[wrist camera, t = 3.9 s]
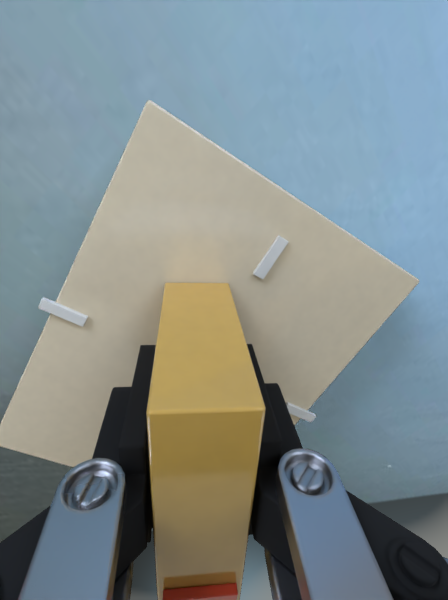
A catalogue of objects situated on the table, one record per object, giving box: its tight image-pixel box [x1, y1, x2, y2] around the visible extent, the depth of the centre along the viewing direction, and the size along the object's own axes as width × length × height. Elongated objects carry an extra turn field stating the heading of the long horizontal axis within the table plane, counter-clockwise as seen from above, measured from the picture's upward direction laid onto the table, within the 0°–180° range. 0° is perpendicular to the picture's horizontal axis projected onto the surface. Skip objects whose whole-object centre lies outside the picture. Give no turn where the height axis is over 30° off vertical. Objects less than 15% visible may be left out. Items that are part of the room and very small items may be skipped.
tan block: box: [146, 283, 266, 600], centre depth 9 cm, size 6×2×6 cm, turn 177°
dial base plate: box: [0, 100, 419, 467], centre depth 13 cm, size 13×11×3 cm
